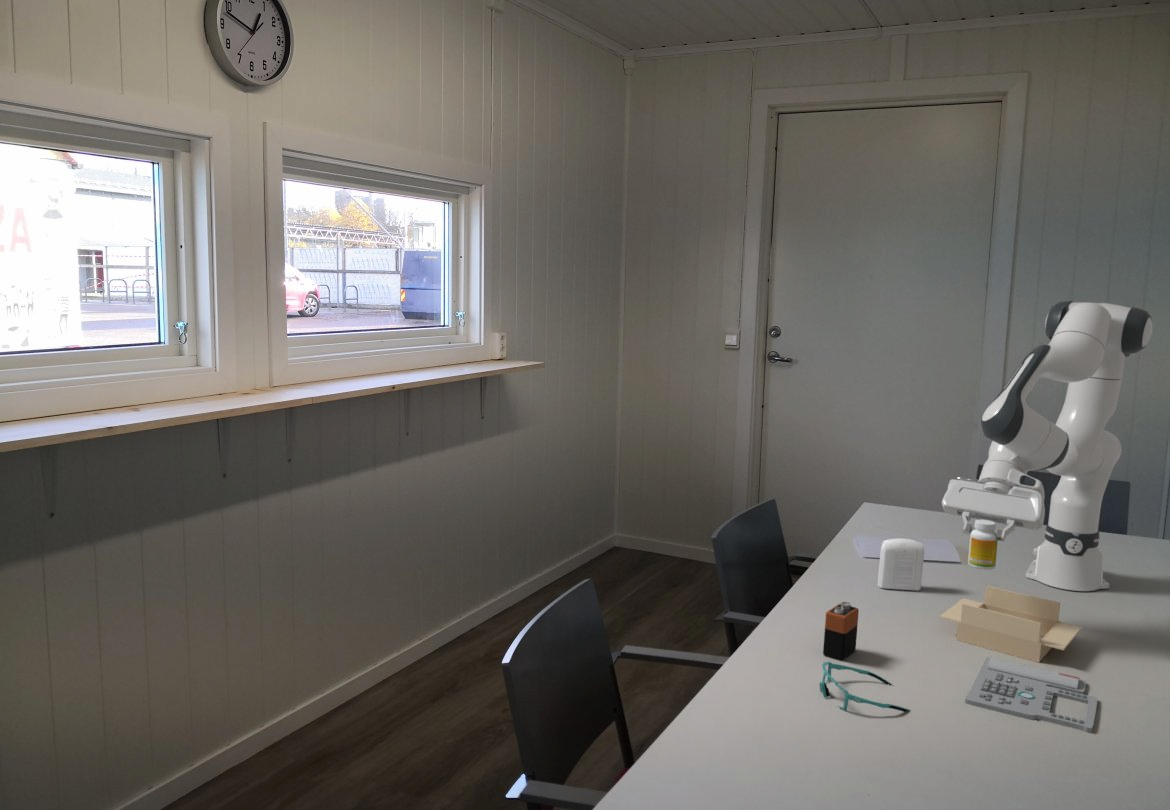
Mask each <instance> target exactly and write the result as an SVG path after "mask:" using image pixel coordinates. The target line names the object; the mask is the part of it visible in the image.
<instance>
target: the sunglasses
mask: <svg viewBox="0 0 1170 810" xmlns="http://www.w3.org/2000/svg"><path fill="white" fill-rule="evenodd" d="M826 666H828V667H827V668H826ZM832 669H833V670H837V671H841V670H850V671H852V672H855V673H858V674H861V675H867V676H869V677H872V678H874V679H876V680H878V681H880V682H882V683H883V684H884V685H887V684H889V685H888V686H891V685H894V684H892V683H891V682H890V681H888V680H887V679H885V678H883V677H882V676H880V675H878V674H876V673H874V672H872V671H869V670H865V669H860V668H856V667H852V666H847V665H844V664H837V663H833V662H831V661H824V662H823V663H822V671H823V675H822V681H820V682H819V689H820V690H821V691H820V692H822V696H823V699H824V698H825V697H826V698H827V699H828V698H829V697H830V695H831V694H830V690H829V687H828V685H827V684H828V683H827V682H828V681H830V682H833V683H834V685H835V686H836V687H838V688H839V689H840V690H842V691H843V693H844V698H843V701H844V702H843V707H842V706H839V705H837V706H838V707H840V709H839V710H842V711H847V709H848V704H849V701H853V702H855V703H858V704H868V705H873V706H875V707H879V708H882V709H892V710H897V711H901V712H903V713H907V712H911V710H910V709H909V708H907V707H906V708H905V707H902V706H899V705H895V704H892V703H891V704H890V703H882V702H877V701H873V700H869V699H867V698H862V697H861V696H858V695H854V694H852V693H849V691H848V690H847V689H845V688H844V687H842V686H841V685H840V684H839V683H838V682H837V681H836V679H835V678H834V677H833V676H832ZM826 676H827V680H826ZM826 681H827V682H826ZM825 682H826V683H827V684H826V683H825ZM826 698H825V699H826Z"/></svg>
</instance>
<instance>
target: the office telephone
mask: <svg viewBox="0 0 1170 810" xmlns="http://www.w3.org/2000/svg"><path fill="white" fill-rule="evenodd" d="M1086 687H1087V681H1086V680H1083V679H1080V677H1079V676H1076V675H1071V674H1067V673H1063V672H1059V671H1054V670H1050V669H1049V670H1048V669H1045V668H1040V667H1036V666H1032V665H1026V664H1022V663H1020V662H1019V663H1018V662H1014V661H1010V660H1005V659H1000V658H997V657H992V656H991V657H990V656H989V657H988V656H987V657H986V658H985V660H984V662H983V664H982V666H981V668H980V670H979V672H978V674H977V676H976V678H975V680H974V683H973V684H972V686H971V689H970V690H969V691H968V692H967V695H966V696H965V698H964V704H967V705H970V706H974V707H978V708H981V709H987V710H989V711H994V712H997V713H1002V714H1006V715H1010V716H1014V717H1018V718H1022V719H1026V720H1031V721H1032V720H1033V721H1035V720H1039V721H1043V722H1048V723H1051V724H1055V725H1060V726H1063V727H1067V728H1072V729H1076V730H1080V731H1083V732H1085V733H1089V734H1090V733H1092V732H1093V729H1094V724H1095V718H1096V713H1097V706H1098V697H1096V696H1094V695H1093V696H1092V695H1087V694H1085V693H1086ZM1054 697H1059V698H1061V699H1066V700H1070V701H1075V702H1079V703H1084V704H1087V710H1086V715H1085V719H1083V720H1082V719H1078V718H1075V717H1070V716H1065V715H1062V714H1056V713H1055V712H1050V711H1051V707H1052V703H1053V699H1054Z"/></svg>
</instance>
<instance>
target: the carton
mask: <svg viewBox="0 0 1170 810" xmlns="http://www.w3.org/2000/svg"><path fill="white" fill-rule="evenodd" d="M983 599H984V600H983V601H981V602H980V601H979V602H978V601H976V600H972V599H967V598H961V599H960V600H959V601H957V602H956V603H955V604H953V605H952V606H951V607H950V608H948V609H947V610H946V611H944V612H943V613H942V614H940V615H939V619H943V620H945V621H951V622H954V623H957V631H956V632H957V633H956V641H958V642H963V643H967V644H970V645H973V646H977V647H981V648H984V649H988V650H992V651H995V652H999V653H1003V654H1006V655H1010V656H1013V657H1016V658H1021V659H1023V660H1024V659H1025V660H1027V661H1032V662H1035V663H1040V662H1041V661H1042V660H1043V659H1044V657H1045V656H1046V655H1047V654H1048V653H1049V651H1051V649H1052V648H1053V649H1056V650H1061V651H1065V650H1066V649H1067V647H1068V646H1069V645H1070V643H1071V642H1073V640H1074V639H1075V638H1076V636H1077V635H1078V634H1079V633H1080V631H1081V630H1082V628H1083V627H1081V626H1078V625H1073V624H1070V623H1065V622H1061V620H1060V619H1059V618H1060V608H1061V602H1058V601H1055V600H1050V599H1046V598H1042V597H1037V596H1033V595H1029V594H1024V593H1020V592H1015V591H1012V590H1006V589H1003V588H998V587H994V586H990V585H985V589H984V598H983ZM1040 637H1042V638H1041V639H1040Z"/></svg>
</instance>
